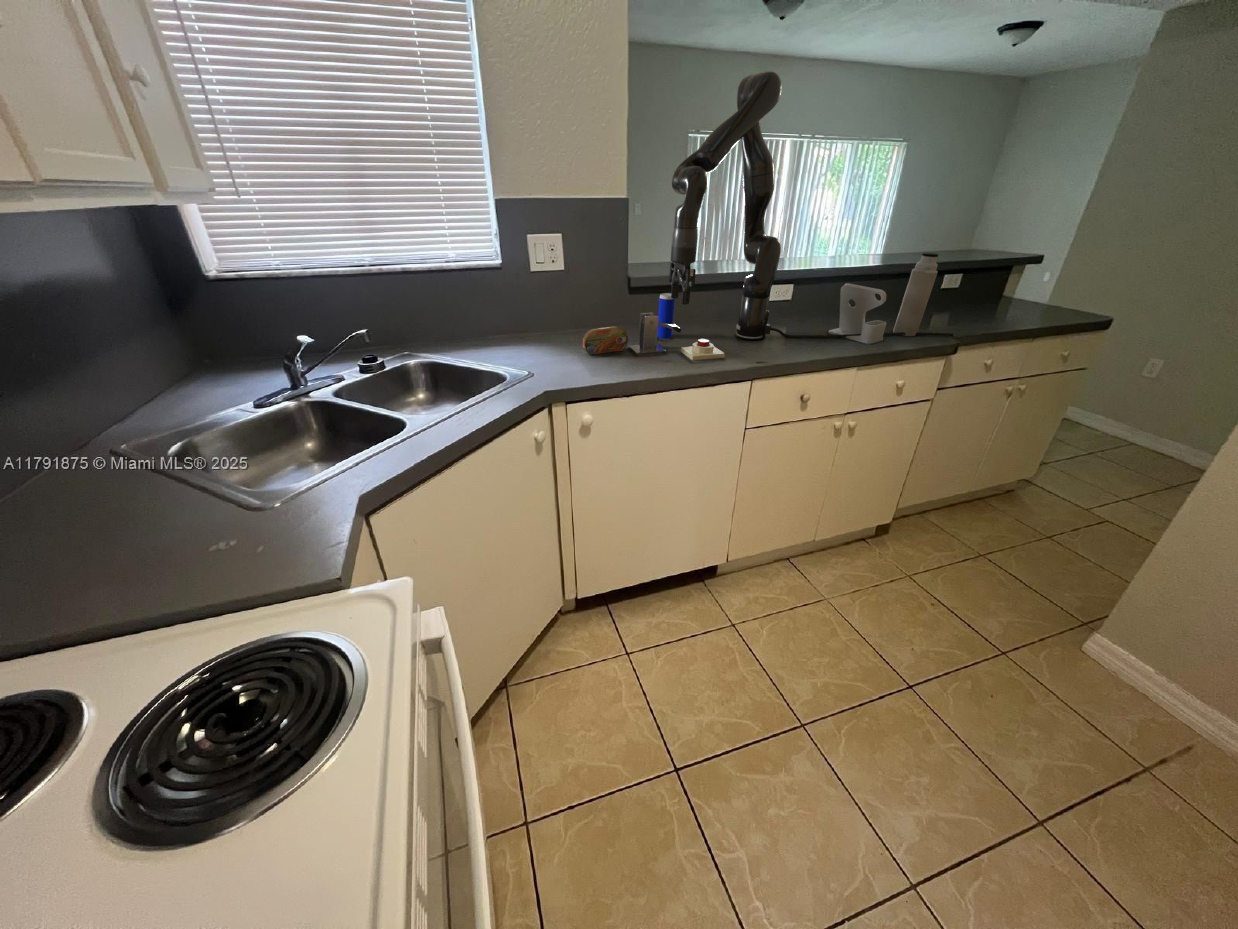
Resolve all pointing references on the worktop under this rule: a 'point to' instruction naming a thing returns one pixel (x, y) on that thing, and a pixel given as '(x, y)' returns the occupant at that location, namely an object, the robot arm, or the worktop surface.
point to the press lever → (668, 326)
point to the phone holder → (860, 314)
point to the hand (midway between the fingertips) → (679, 301)
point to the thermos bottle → (917, 295)
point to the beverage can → (665, 315)
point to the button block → (702, 352)
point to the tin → (605, 340)
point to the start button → (703, 342)
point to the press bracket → (647, 335)
